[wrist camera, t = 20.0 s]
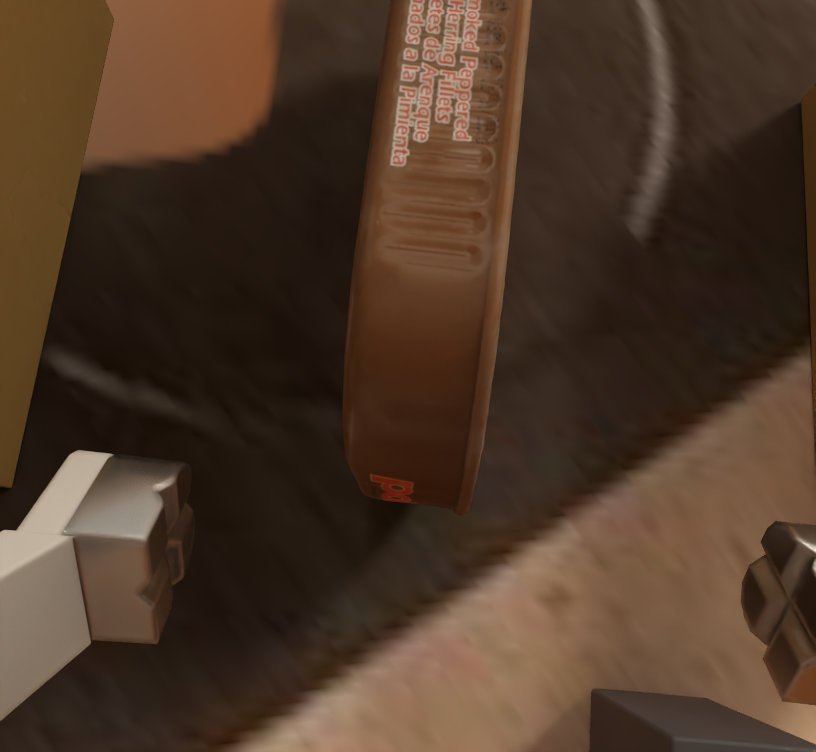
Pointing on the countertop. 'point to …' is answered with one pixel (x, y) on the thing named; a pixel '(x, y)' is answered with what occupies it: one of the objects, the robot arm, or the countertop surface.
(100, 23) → the tan cardboard-coloured block
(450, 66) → the tin
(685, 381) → the countertop surface
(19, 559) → the robot arm
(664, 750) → the grey rectangular block
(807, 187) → the khaki rectangular brick
